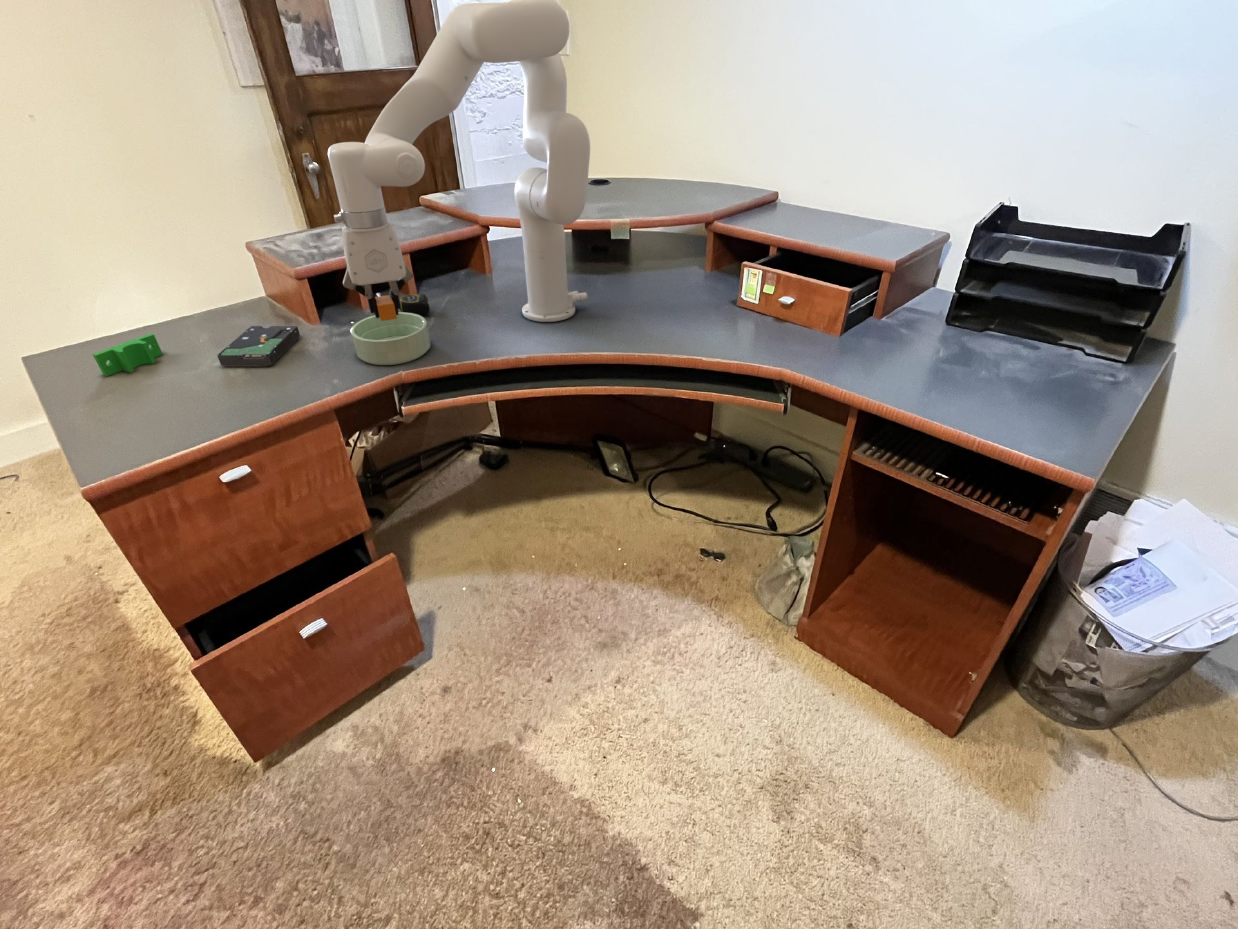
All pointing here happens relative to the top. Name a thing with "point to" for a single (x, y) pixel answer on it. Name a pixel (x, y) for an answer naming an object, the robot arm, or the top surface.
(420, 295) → the tape measure
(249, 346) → the disk drive
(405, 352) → the bowl
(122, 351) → the pipe clamp
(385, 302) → the orange block with pin
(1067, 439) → the top surface
